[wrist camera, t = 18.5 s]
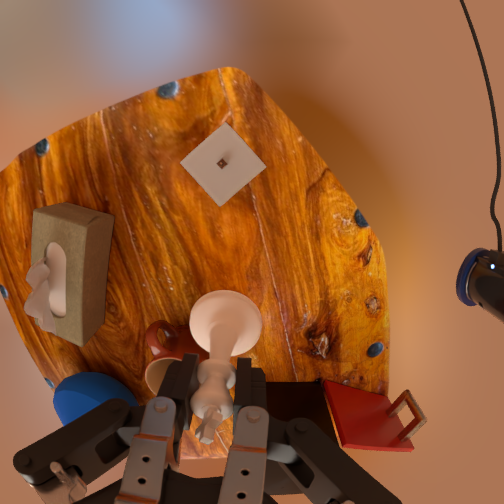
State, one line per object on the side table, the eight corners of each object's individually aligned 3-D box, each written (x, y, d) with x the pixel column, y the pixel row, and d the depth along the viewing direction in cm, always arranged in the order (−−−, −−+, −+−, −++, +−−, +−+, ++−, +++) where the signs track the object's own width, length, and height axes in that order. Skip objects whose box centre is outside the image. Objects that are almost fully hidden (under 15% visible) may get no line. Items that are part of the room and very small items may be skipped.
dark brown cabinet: (320, 381, 44) (339, 446, 30) (304, 434, 49) (314, 492, 34) (256, 381, 44) (258, 451, 30) (251, 435, 48) (251, 495, 34)
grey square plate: (219, 207, 36) (218, 208, 35) (179, 162, 35) (176, 162, 33) (266, 166, 35) (267, 166, 33) (225, 121, 34) (224, 119, 32)
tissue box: (104, 324, 41) (57, 381, 26) (60, 305, 41) (6, 350, 25) (115, 213, 37) (47, 238, 21) (65, 199, 36) (-7, 217, 21)
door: (344, 355, 43) (373, 417, 29) (405, 375, 45) (438, 425, 30) (322, 383, 44) (342, 447, 30) (384, 399, 46) (410, 451, 32)
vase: (152, 372, 44) (117, 456, 25) (154, 431, 49) (132, 501, 30) (66, 344, 43) (13, 406, 24) (80, 406, 48) (46, 464, 29)
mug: (228, 354, 43) (222, 399, 33) (181, 368, 43) (167, 411, 34) (191, 290, 40) (174, 326, 30) (143, 310, 40) (117, 346, 31)
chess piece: (276, 313, 19) (294, 430, 9) (238, 362, 20) (229, 478, 10) (211, 275, 18) (172, 380, 8) (178, 330, 19) (132, 439, 9)
